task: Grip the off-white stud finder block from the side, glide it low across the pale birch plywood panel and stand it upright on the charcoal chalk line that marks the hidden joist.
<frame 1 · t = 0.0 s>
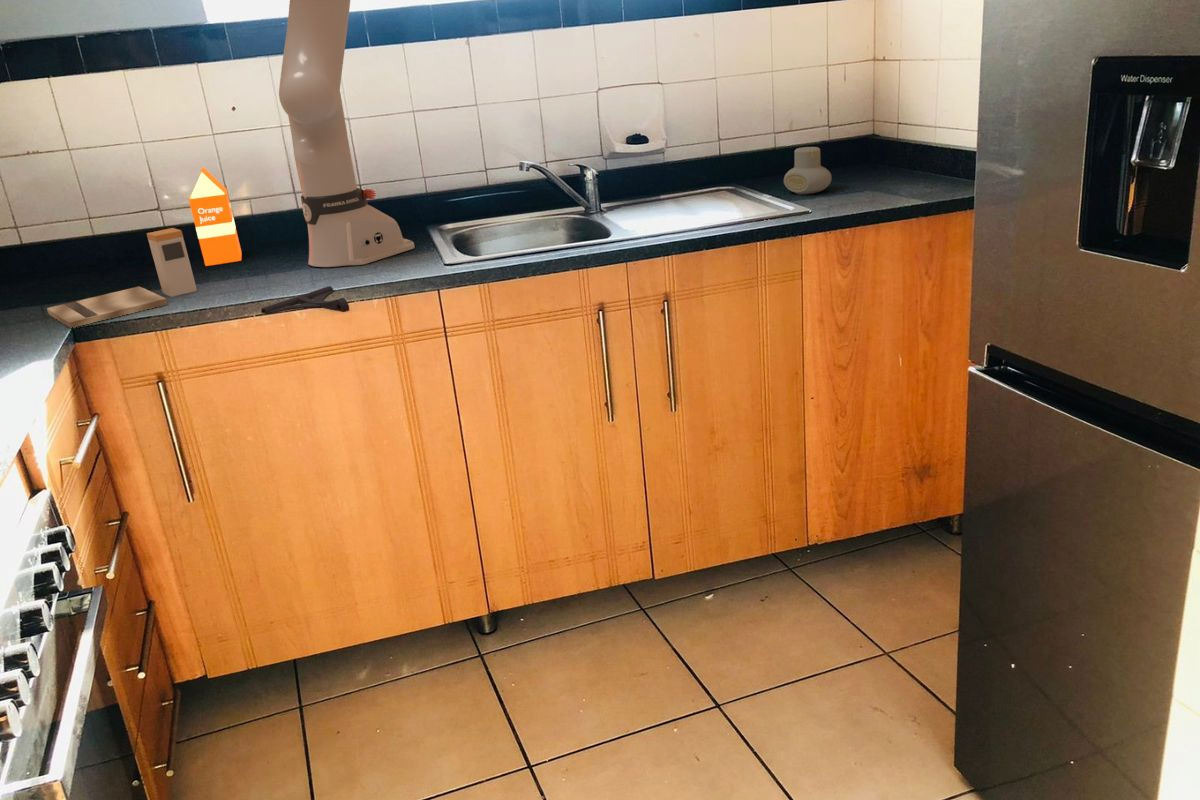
orange juice: (224, 260, 212), on the worktop
air freshener: (807, 193, 223), on the worktop
stud finder: (179, 291, 187), on the worktop
bracket: (321, 310, 168), on the worktop
subfloor panel: (108, 309, 179), on the worktop
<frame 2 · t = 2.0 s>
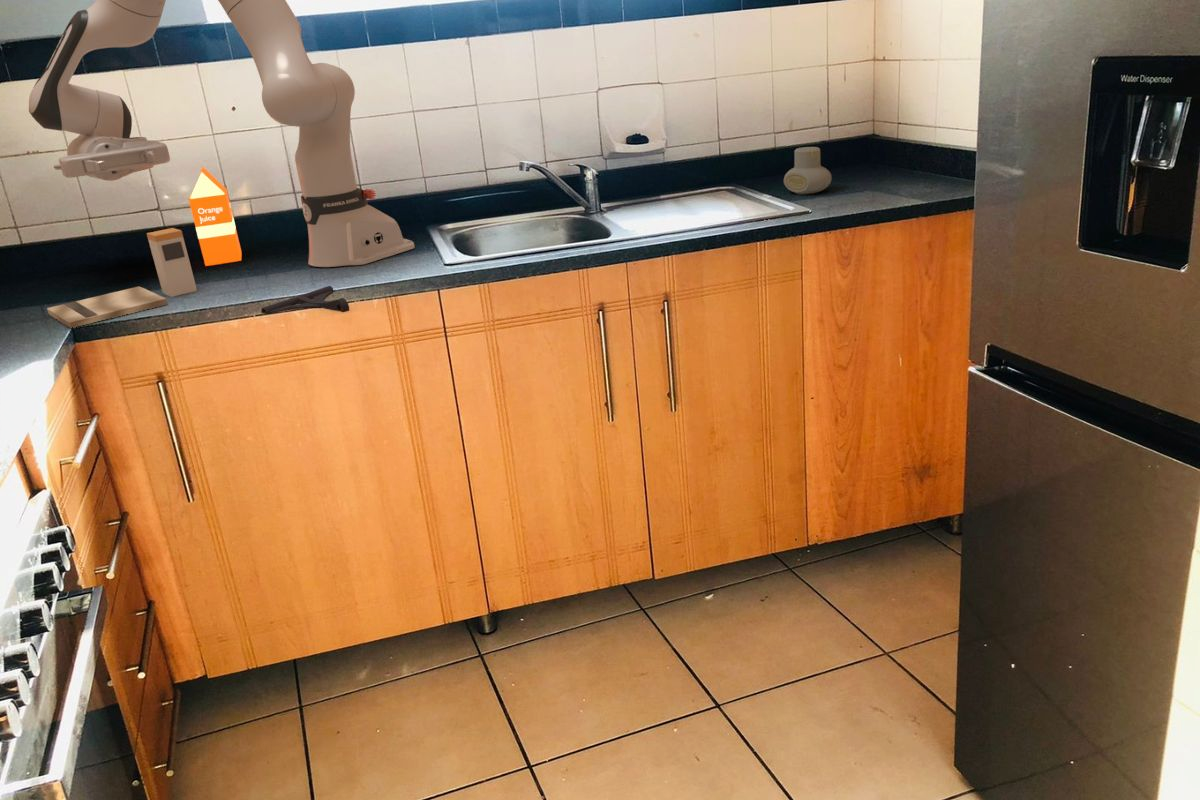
hand: (126, 162, 186), 25 cm above the worktop, tool horizontal, fingers open, 8 cm apart
nothing on the worktop moved.
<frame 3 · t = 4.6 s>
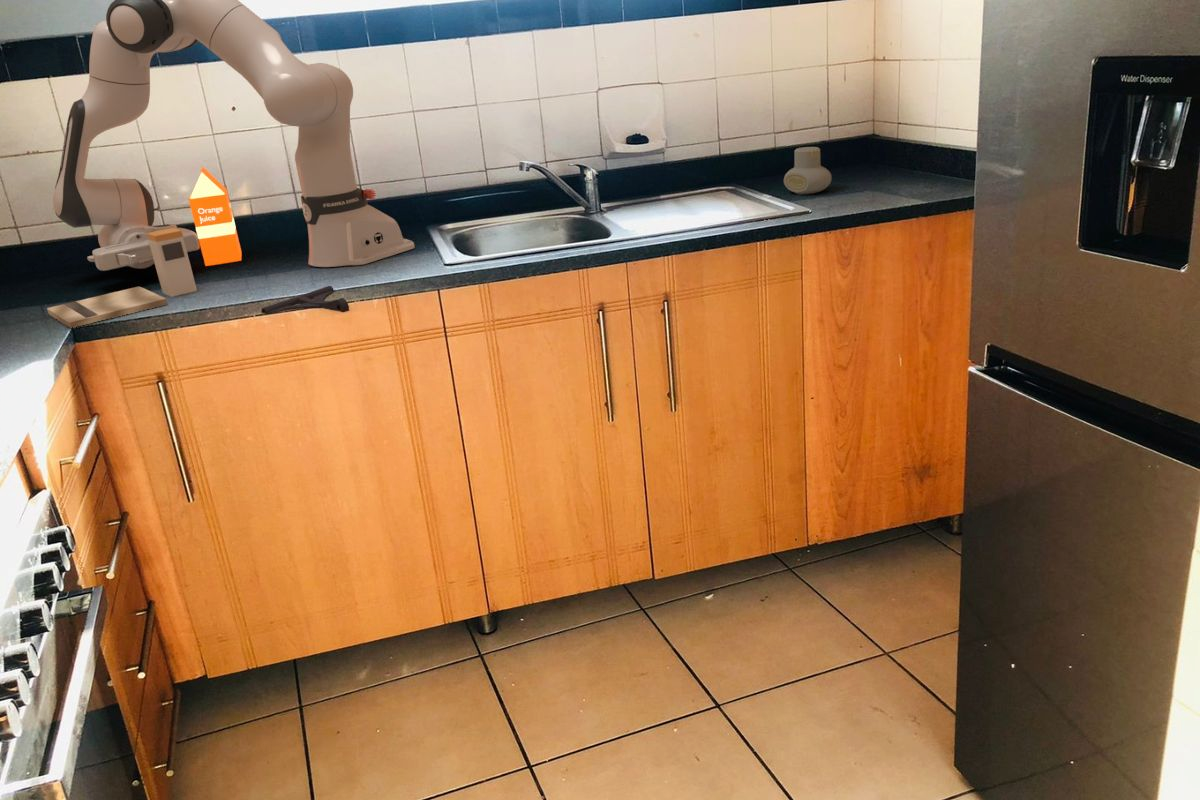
hand: (158, 254, 190), 6 cm above the worktop, tool horizontal, fingers open, 8 cm apart
nothing on the worktop moved.
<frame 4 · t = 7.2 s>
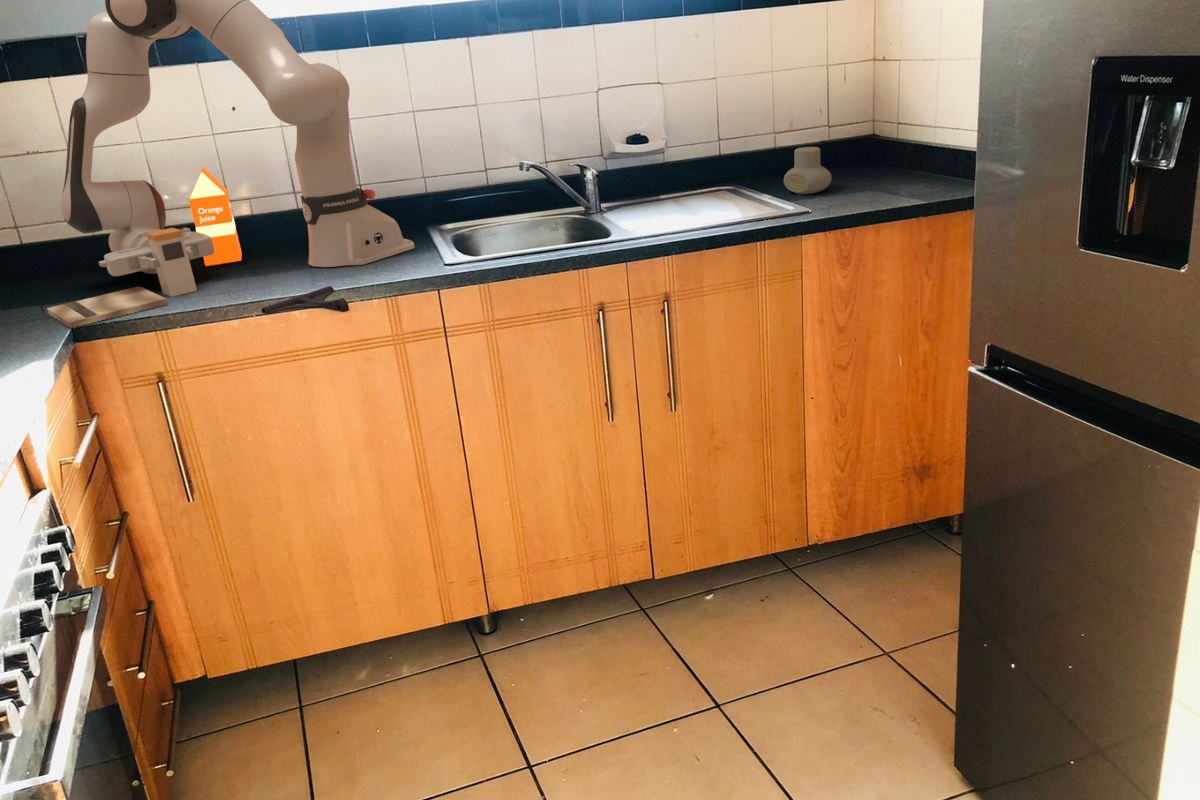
hand: (172, 259, 184), 7 cm above the worktop, tool horizontal, fingers closed on stud finder, 5 cm apart
stud finder: (179, 291, 187), on the worktop, touching gripper
everything else where it was.
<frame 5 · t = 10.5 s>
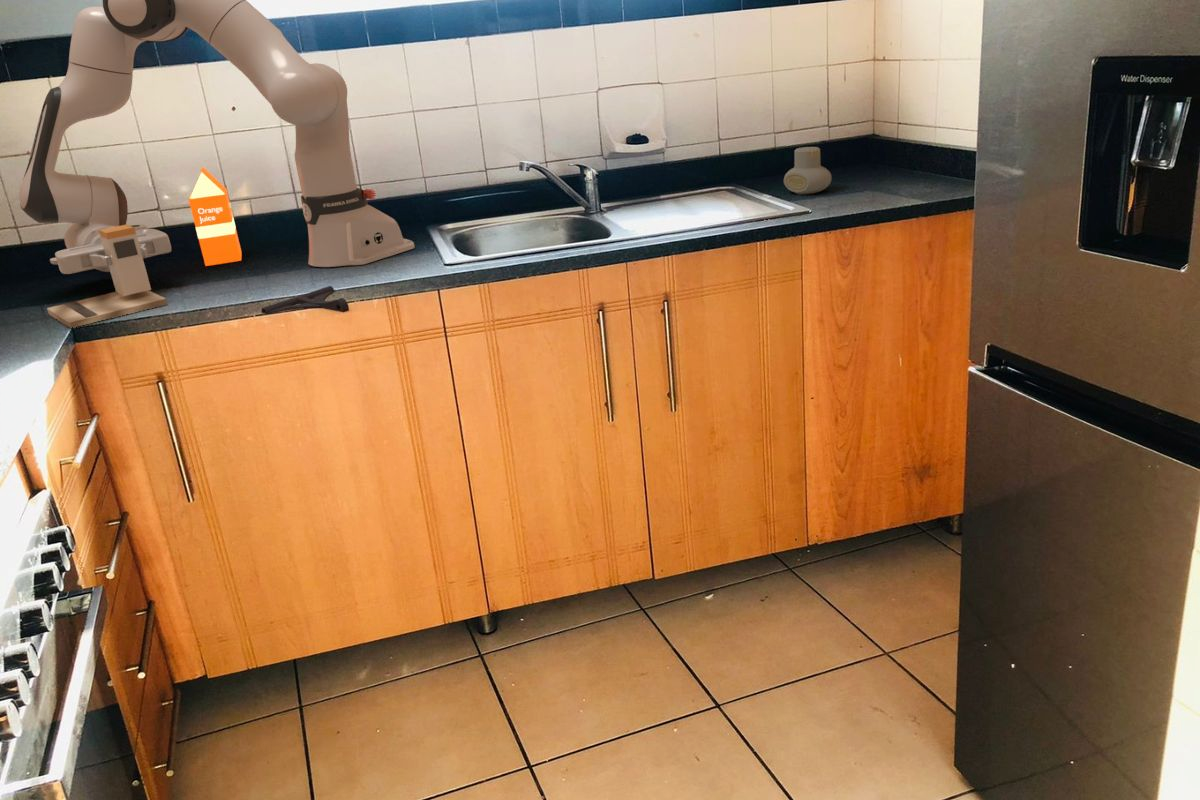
hand: (125, 257, 178), 9 cm above the worktop, tool horizontal, fingers closed on stud finder, 5 cm apart
stud finder: (133, 290, 181), point 2 cm above the worktop, touching gripper
everything else where it was.
when the fingers open (8 cm above the worktop, at t = 14.1 s): stud finder stays where it is, resting on subfloor panel.
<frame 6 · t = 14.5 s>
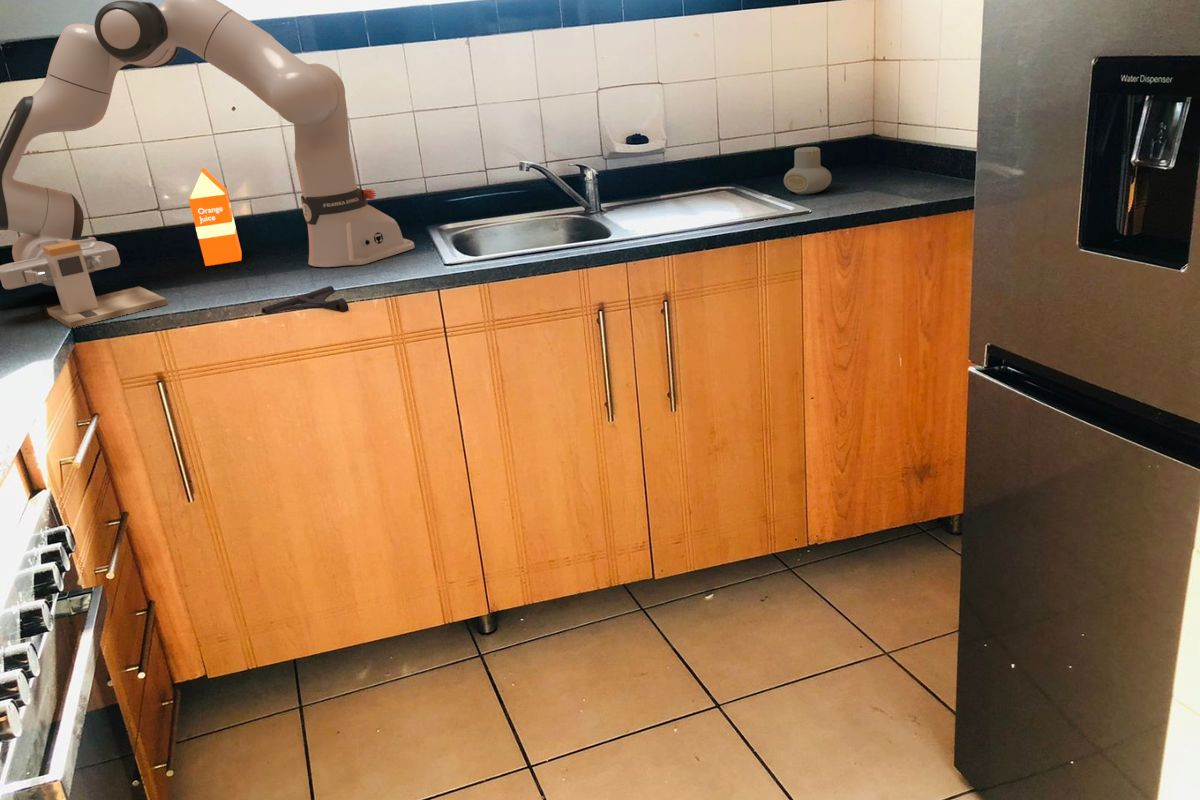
hand: (70, 271, 172), 9 cm above the worktop, tool horizontal, fingers open, 8 cm apart
stud finder: (80, 308, 176), point 1 cm above the worktop, touching subfloor panel
everything else where it was.
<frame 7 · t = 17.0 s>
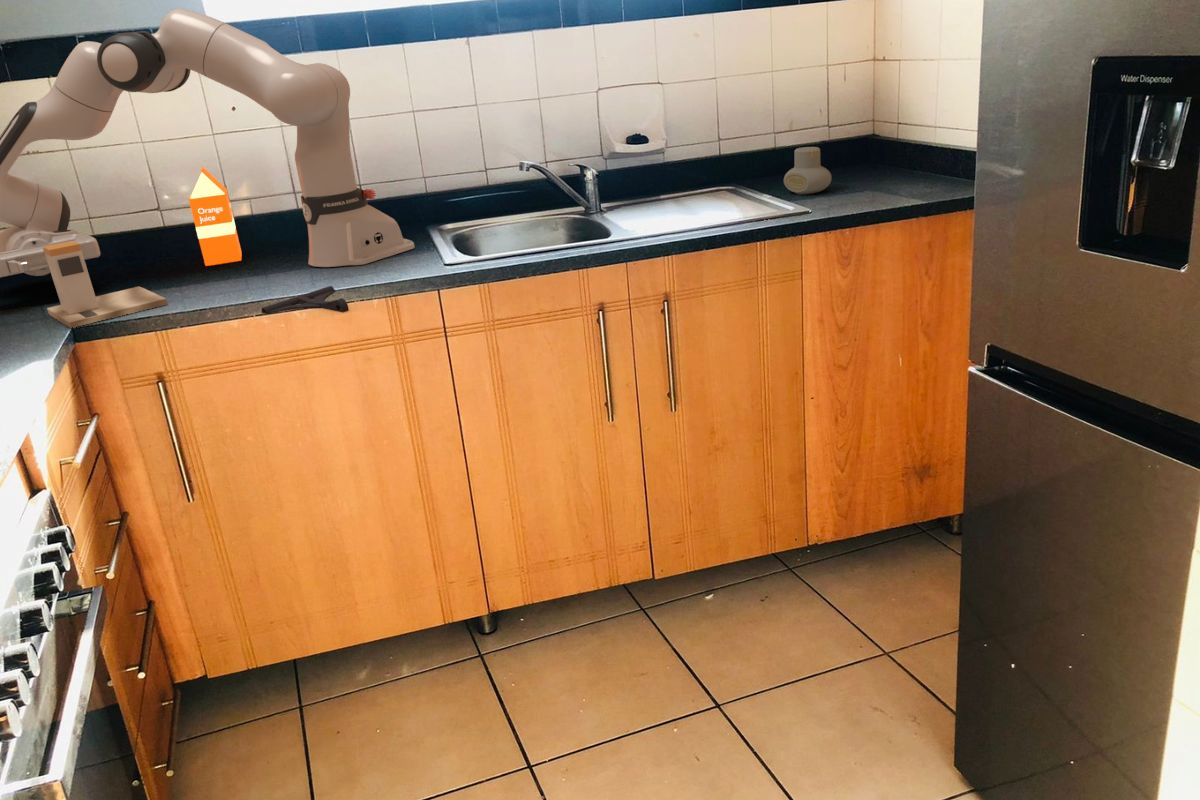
hand: (51, 261, 181), 9 cm above the worktop, tool horizontal, fingers open, 8 cm apart
nothing on the worktop moved.
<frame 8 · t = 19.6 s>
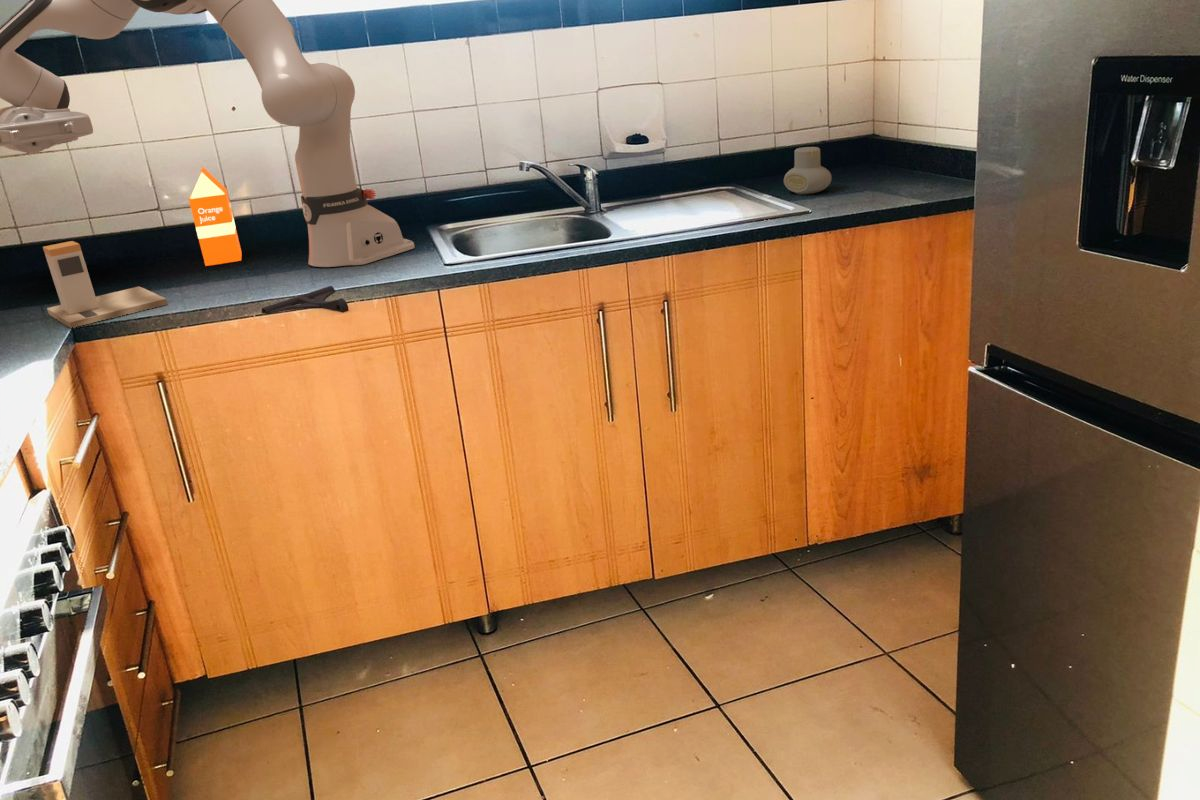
hand: (43, 132, 179), 32 cm above the worktop, tool horizontal, fingers open, 8 cm apart
nothing on the worktop moved.
at the end: stud finder 0.1 cm from the target spot, point 1.3 cm above the worktop; stud finder tilted 0°; the gripper is holding nothing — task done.
